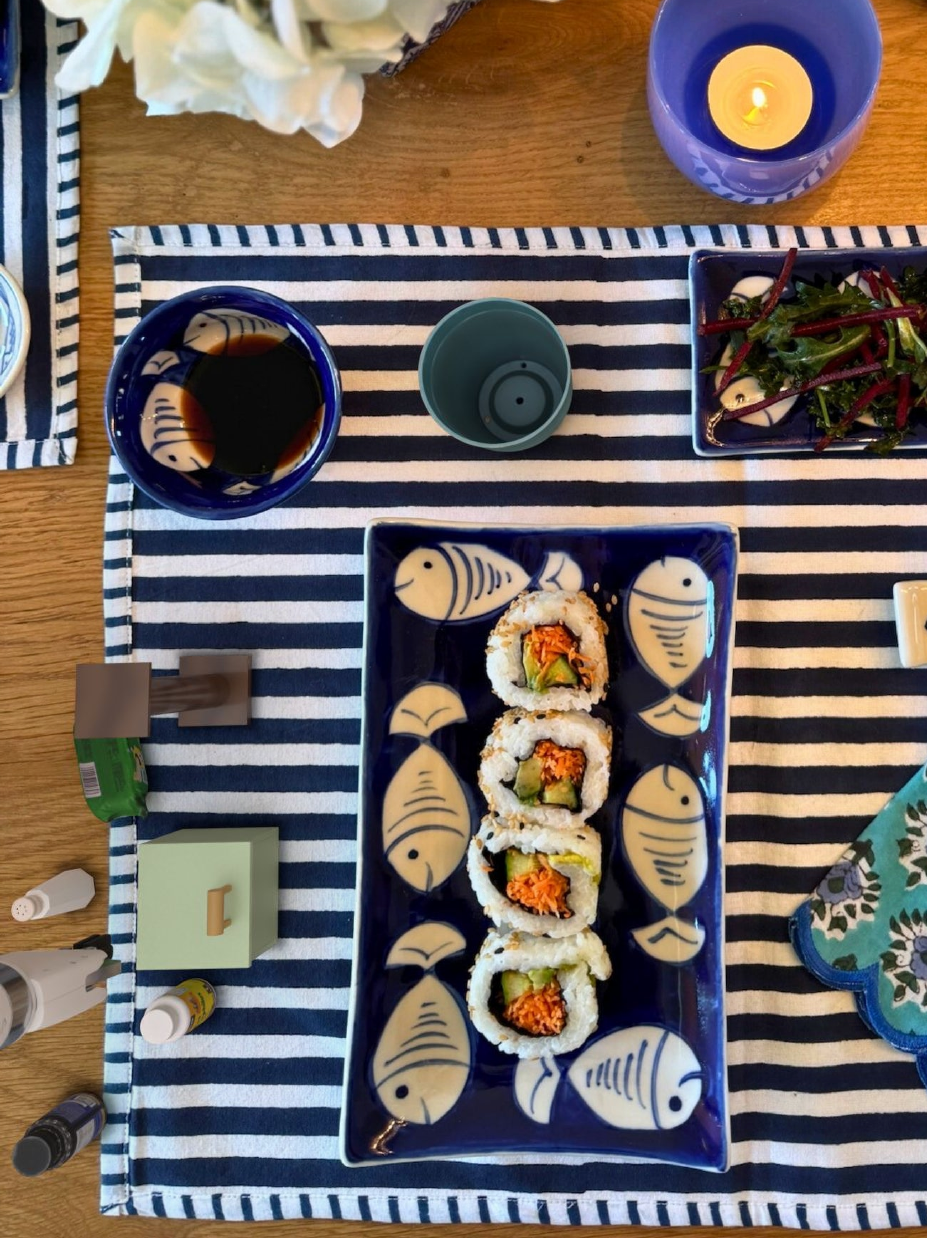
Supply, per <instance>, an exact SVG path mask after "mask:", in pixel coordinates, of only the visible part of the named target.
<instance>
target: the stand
mask: <svg viewBox="0 0 927 1238" xmlns="http://www.w3.org/2000/svg"><path fill="white" fill-rule="evenodd" d="M252 656H253V655H252V654H230V655H229V654H227V655H226V654H225V655H191V656H190V655H189V656H188V655H187V656H186V655H185V656H179V662H178V664H179V665H178V675H169V676H153V677H152V670H153V662H152V661H147V662H146V661H145V662H144V661H143V662H142V661H141V662H103V663H102V662H101V663H100V662H99V663H98V662H97V663H76V664H75V691H74V692H75V696H74V722H75V729H74V739H87V738H130V737H139V738H150V737H151V724H152V723H151V718H152V717H154V716H161V715H168V714H169V715H170V714H178V717H177V719H178V720H177V726H178V727H216V726H217V727H219V726H220V727H221V726H248V725H249V726H250V725H251V724H252V669H253V667H252V666H253V665H252V663H253V662H252V661H253V657H252ZM74 739H73V740H74Z"/></svg>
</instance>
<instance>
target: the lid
mask: <svg viewBox="0 0 927 1238" xmlns="http://www.w3.org/2000/svg"><path fill="white" fill-rule="evenodd" d="M252 871H253V841H216V842H170V843H144V842H142V843H139V844H138V872H137V873H138V875H137V916H136V917H137V920H136V922H137V923H136V966H135V967H136V968H135V969H136V970H135V971H154V970H155V971H156V970H159V971H160V970H163V971H164V970H202V969H203V970H206V969H248V968H251V967H252V961H251V953H252Z"/></svg>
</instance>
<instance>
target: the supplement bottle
mask: <svg viewBox="0 0 927 1238" xmlns="http://www.w3.org/2000/svg"><path fill="white" fill-rule="evenodd" d="M216 1006H217V994H216V991H215V989H214V987H213V985H212V984H211V983H210V982H208V981H207V980H205V979H203V978H197V977H196V978H195V977H193V978H189V979H187V980H185V981H183V982H181V983H180V984H178V985H176V986H175V987H173V988H171V989H170V990H168V991H167V992H165V993H163V994H162V995H160V996H158V997H157V998H155V999H154V1000H153V1001H152V1002H151V1003H149V1005H148V1006H147V1007H146V1009H145V1011H144V1015H143V1017H142V1018H141V1021H140V1025H139V1030H140V1034H141V1036H142V1038H143V1039H144V1040H145V1041H146V1042H148V1043H150V1044H153V1045H159V1044H164V1045H165V1044H167V1045H168V1044H173V1043H175V1042H177V1041H178V1040H180V1039H181V1038H183V1037H184V1036H186V1035H187V1034H188V1033H190V1032H191V1031H192V1030H194V1029H195V1028H197V1027H198V1026H199V1025H201V1024H202V1023H204V1022H205V1021H206V1020H207V1019H208V1018H210V1017H211V1016H212V1014H213V1013H214V1011H215V1008H216Z"/></svg>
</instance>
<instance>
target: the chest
mask: <svg viewBox="0 0 927 1238" xmlns="http://www.w3.org/2000/svg"><path fill="white" fill-rule="evenodd" d="M279 830H280V829H279V827H278V826H268V827H266V826H263V827H259V826H258V827H220V828H219V827H218V828H217V827H216V828H214V827H213V828H182V829H179V830H176V831H173V832H171V833H167V834H164V835H162V836H159V837H156V838H153V839H150V840H147V841H143V843H170V842H216V841H253V871H252V953H251V962H252V961H254V960H255V959H257V958H258V957H260V956H261V955H263V954H264V953H266V952H267V951H268V950H270V949H271V948H273V947H274V946H276V945H277V944H278V940H279V939H278V937H279V935H278V933H279V932H278V931H279V927H278V926H279V918H278V917H279V847H280V845H279V838H280V837H279V834H280V833H279Z"/></svg>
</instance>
